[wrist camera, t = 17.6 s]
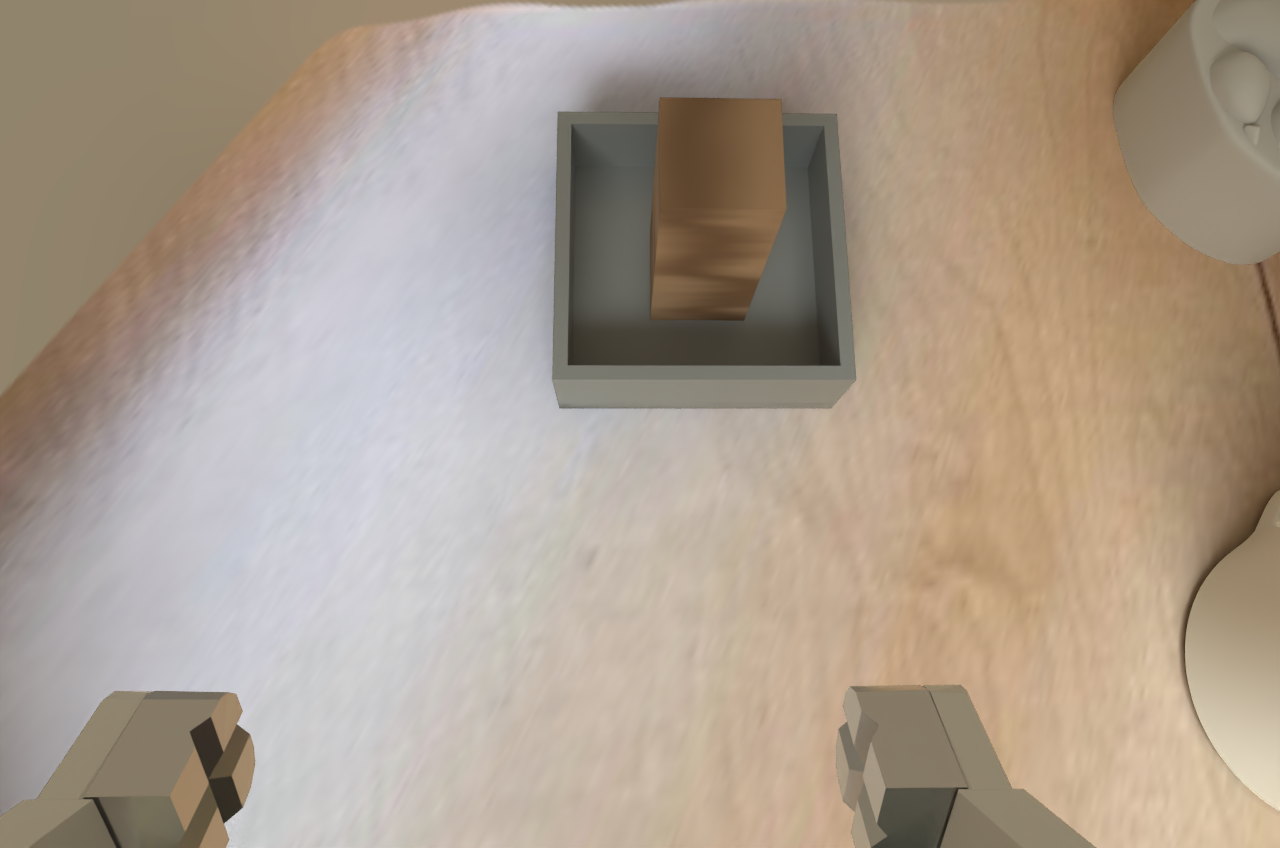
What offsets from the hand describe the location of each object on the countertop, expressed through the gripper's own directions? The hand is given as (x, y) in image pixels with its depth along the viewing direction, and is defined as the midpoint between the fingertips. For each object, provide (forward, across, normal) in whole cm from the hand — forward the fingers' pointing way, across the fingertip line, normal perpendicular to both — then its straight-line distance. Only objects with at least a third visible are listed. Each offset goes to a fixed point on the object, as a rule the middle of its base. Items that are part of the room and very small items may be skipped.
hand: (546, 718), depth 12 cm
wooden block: (+36, -5, +7) cm, 37 cm away
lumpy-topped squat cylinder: (+42, -36, +3) cm, 55 cm away
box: (+37, -5, +8) cm, 38 cm away
